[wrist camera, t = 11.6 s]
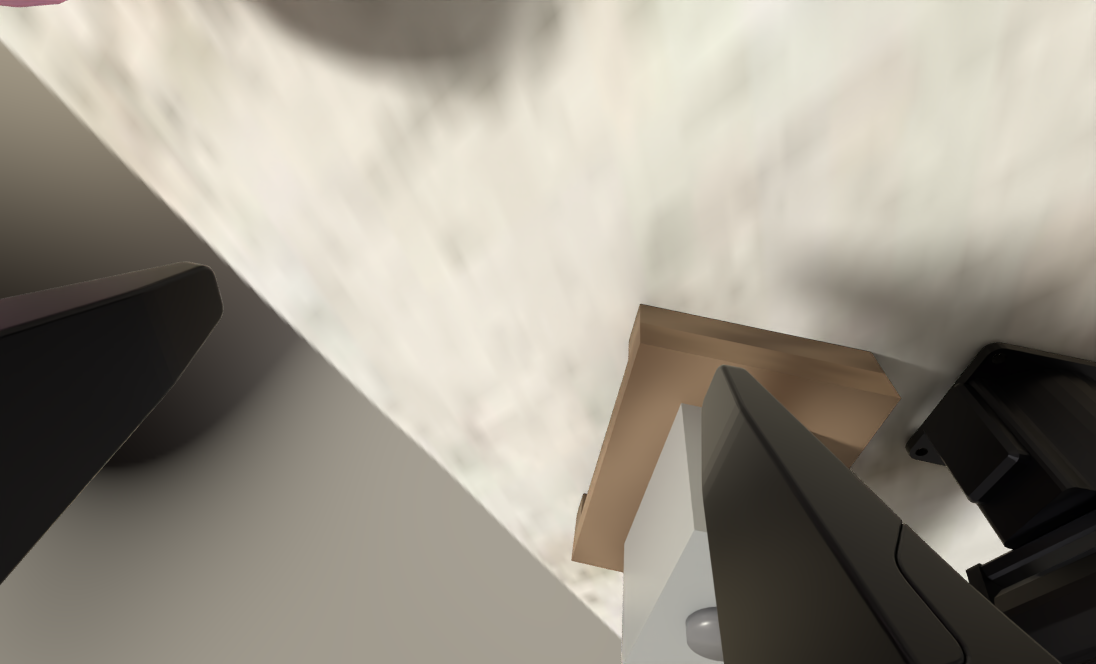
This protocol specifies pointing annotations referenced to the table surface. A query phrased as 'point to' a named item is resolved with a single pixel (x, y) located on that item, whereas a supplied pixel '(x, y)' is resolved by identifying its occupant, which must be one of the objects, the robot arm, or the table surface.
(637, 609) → the block
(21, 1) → the cupcake
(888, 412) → the walnut stand
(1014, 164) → the table surface
